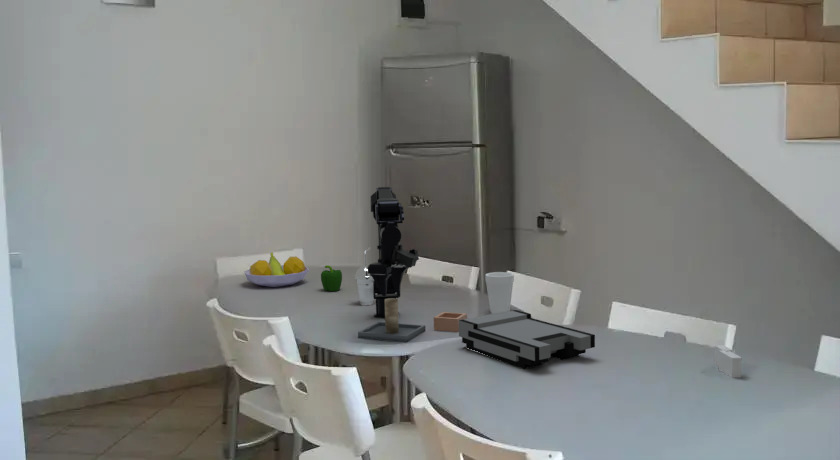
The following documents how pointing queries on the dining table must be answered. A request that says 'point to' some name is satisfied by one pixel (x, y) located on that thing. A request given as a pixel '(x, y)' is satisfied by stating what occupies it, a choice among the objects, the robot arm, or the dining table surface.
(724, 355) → the napkin holder
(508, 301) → the foam cup
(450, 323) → the terracotta square frame
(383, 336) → the charcoal tray
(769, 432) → the dining table surface
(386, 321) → the dowel pin
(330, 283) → the bell pepper
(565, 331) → the game console
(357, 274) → the cup with straw
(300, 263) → the fruit bowl
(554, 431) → the dining table surface
